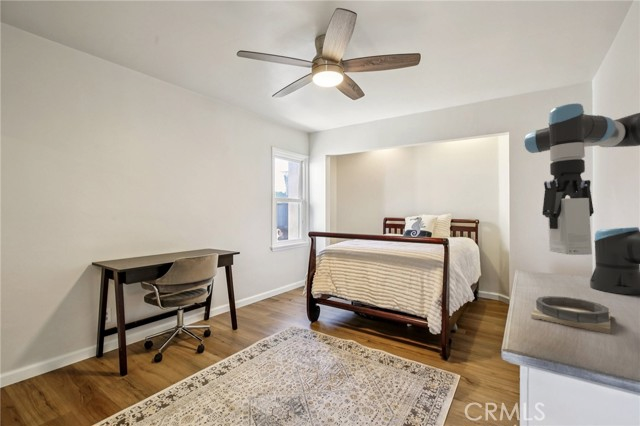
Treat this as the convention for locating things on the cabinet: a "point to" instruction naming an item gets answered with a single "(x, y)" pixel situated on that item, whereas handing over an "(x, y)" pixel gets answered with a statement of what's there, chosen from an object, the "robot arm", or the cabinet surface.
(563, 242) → the skincare box
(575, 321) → the collar
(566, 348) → the cabinet surface
